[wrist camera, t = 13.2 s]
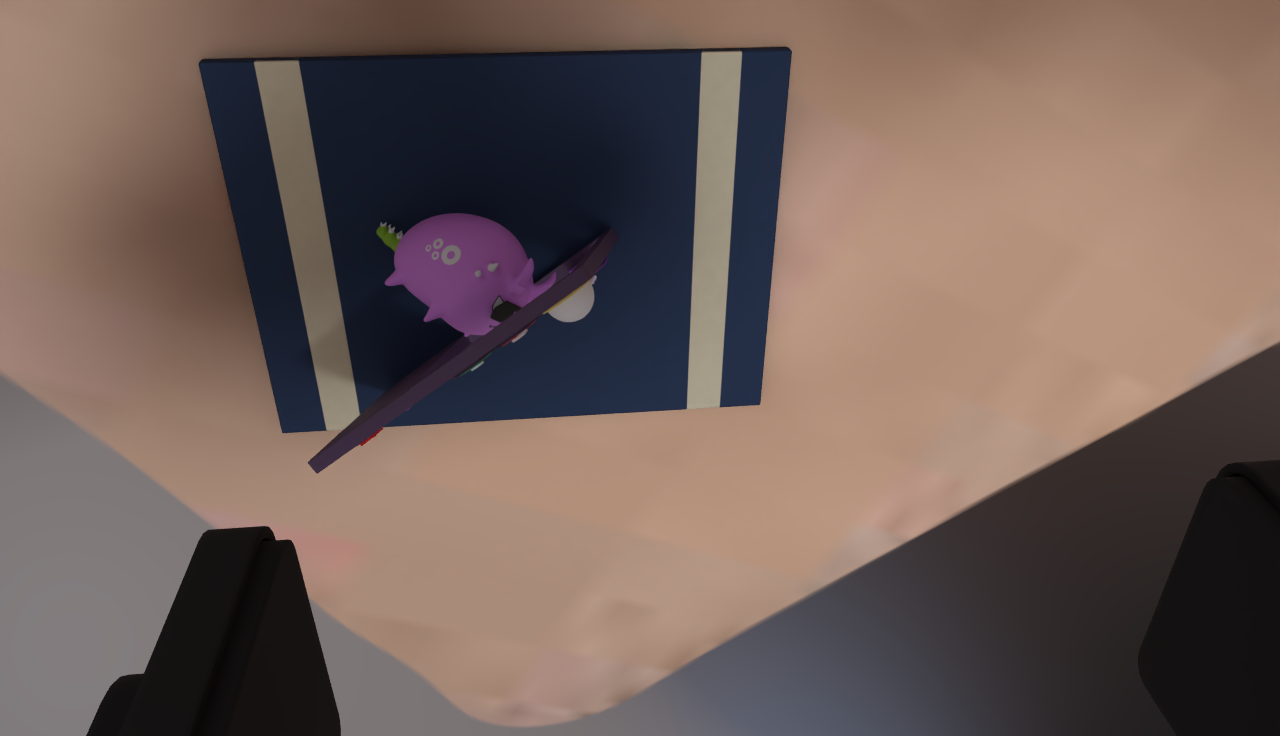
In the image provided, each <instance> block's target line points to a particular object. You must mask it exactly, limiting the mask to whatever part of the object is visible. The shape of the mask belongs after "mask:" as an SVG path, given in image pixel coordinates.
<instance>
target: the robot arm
mask: <svg viewBox="0 0 1280 736" xmlns="http://www.w3.org/2000/svg"><path fill="white" fill-rule="evenodd" d="M1138 667H1139V673H1140V676H1141V679H1142V682H1143V683H1144V685H1145V687H1146V689H1147V691H1148V692H1149V694H1150V695H1151V697H1152V698H1153V700H1154V701H1155V703H1156V704H1157V706H1158V708H1159V709H1160V711H1161V712H1162V714H1163V715H1164V717H1165V718H1166V719H1167V721H1168V723H1169V724H1170V726H1171V728H1172V729H1173V731H1174V732H1175V734H1176V735H1177V736H1280V460H1269V461H1255V462H1239V463H1232V464H1228V465H1227V466H1225V467H1224V468H1222V469H1221V470H1220V472H1219V474H1218V475H1217V477H1216V478H1214V479H1211V480H1210V481H1209V482H1207V484H1206V486H1205V487H1204V489H1203V492H1202V494H1201V497H1200V499H1199V502H1198V504H1197V507H1196V509H1195V512H1194V514H1193V517H1192V519H1191V522H1190V524H1189V527H1188V530H1187V532H1186V534H1185V537H1184V539H1183V542H1182V544H1181V547H1180V549H1179V552H1178V554H1177V557H1176V560H1175V562H1174V565H1173V567H1172V570H1171V572H1170V575H1169V577H1168V580H1167V582H1166V585H1165V587H1164V590H1163V592H1162V595H1161V598H1160V600H1159V602H1158V605H1157V607H1156V610H1155V612H1154V615H1153V617H1152V620H1151V623H1150V625H1149V627H1148V630H1147V632H1146V635H1145V638H1144V640H1143V643H1142V645H1141V648H1140V651H1139V655H1138ZM86 736H341V728H340V718H339V713H338V710H337V706H336V702H335V698H334V694H333V690H332V687H331V683H330V679H329V675H328V672H327V667H326V664H325V660H324V656H323V652H322V648H321V645H320V641H319V637H318V633H317V630H316V626H315V622H314V618H313V615H312V611H311V607H310V603H309V599H308V595H307V591H306V587H305V584H304V580H303V576H302V572H301V568H300V564H299V561H298V557H297V553H296V549H295V547H294V544H293V542H292V541H291V540H276V539H275V536H274V533H273V531H272V530H271V529H270V528H269V527H267V526H260V527H245V528H229V529H214V530H207V531H206V532H205V533H203V535H202V537H201V538H200V540H199V542H198V544H197V547H196V549H195V551H194V554H193V556H192V559H191V561H190V564H189V566H188V569H187V571H186V573H185V576H184V578H183V580H182V583H181V585H180V588H179V590H178V593H177V595H176V598H175V600H174V602H173V605H172V607H171V609H170V612H169V614H168V617H167V619H166V622H165V624H164V626H163V629H162V632H161V634H160V636H159V638H158V641H157V643H156V646H155V648H154V651H153V653H152V655H151V658H150V660H149V663H148V665H147V668H146V670H145V672H144V674H134V675H126V676H122V677H120V678H119V679H117V680H116V681H115V682H114V683H113V684H112V685H111V686H110V688H109V690H108V691H107V693H106V695H105V697H104V698H103V700H102V702H101V704H100V706H99V709H98V711H97V713H96V715H95V717H94V720H93V722H92V724H91V726H90V729H89V731H88V733H87V735H86Z"/></svg>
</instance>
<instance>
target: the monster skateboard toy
mask: <svg viewBox="0 0 1280 736" xmlns="http://www.w3.org/2000/svg"><path fill="white" fill-rule="evenodd" d="M386 224H387V222H386V223H385V224H382V222H381V224H380V227H379V228H378V229H377V231H376V233H377V235H378V236H379V237H380V238H381V239H382V240H383V242H384V243H385V244H386V245H387V246H388V247H390V248H392V250H393V251H394V252H395V255H394V265H395V271H394V272H393V273H392V275H391V276H390V277H389V278H388V279H387V280H386V281H385V285H387V286H395V285H400V284H403V285H404V286H405V287H406V288H407V289H408V290H409V291H410V292H411V293H412V294H413V295H414V296H416V297H417V298H418V299H419V300H421V301H422V302H423V303H424V304H426V305H427V306H428V307H430V308H429V310H428V312H427V314H426V316H425V318H424V321H425V322H428V321H431V320H434V319H437V318H442V319H443V320H444V321H446V322H447V323H448V324H449V325H451V326H452V327H454V328H455V329H457V330H458V331H461V332H463V333H464V334H463V335H462V336H461V337H459V338H458V339H456V340H455V341H454V342H452V343H451V344H450V345H448V346H447V347H445V348H444V349H443V350H441V351H440V352H438V353H437V354H436V355H434V356H433V357H432V358H430V359H429V360H427V361H426V362H425V363H423V364H422V365H420V366H419V367H418V368H416V369H415V370H414V371H412V372H411V373H409V374H408V375H407V376H405V377H404V378H402V379H401V380H400V381H398V382H397V383H396V384H394V385H393V386H392V387H390V388H389V389H388V390H387V391H386V392H385V393H383V394H382V395H381V396H380V397H379V398H378V399H377V400H376V401H375V402H374V403H372V404H371V405H370V406H369V407H368V408H367V409H366V410H365V411H364V412H363V413H361V414H360V415H359V416H358V417H357V418H356V419H355V420H354V421H353V422H352V423H350V424H349V425H348V426H347V427H346V428H345V429H344V430H343V431H342V432H341V433H339V434H338V435H337V436H336V437H335V438H334V439H333V440H332V441H331V442H330V443H328V444H327V445H326V446H325V447H324V448H323V449H322V450H321V451H320V452H319V453H317V454H316V455H315V456H314V457H313V458H312V459H311V460H310V461H309V462H308V464H309V465H310V466H311V467H312V469H313V470H314V471H315V472H316V473H319V472H320V471H322V470H323V469H325V468H326V467H327V466H329V465H330V464H332V463H333V462H334V461H336V460H337V459H339V458H340V457H341V456H343V455H344V454H346V453H347V452H348V451H350V450H351V449H353V448H354V447H356V446H358V445H359V444H360V445H361V446H362V445H364V444H365V443H366V442H368V441H369V440H370V439H371V438H373V437H375V436H376V434H377V433H379V432H380V431H381V430H382V429H383V428H382V427H384V426H385V425H386V424H388V423H389V422H391V421H392V420H393V419H395V418H396V417H398V416H399V415H400V414H402V413H403V412H405V411H407V410H409V409H410V408H411V407H412V406H413V405H415V404H416V403H417V402H419V401H420V400H422V399H423V398H424V397H426V396H427V395H429V394H430V393H431V392H433V391H434V390H436V389H437V388H438V387H440V386H441V385H443V384H444V383H445V382H447V381H448V380H450V379H456V378H458V377H459V376H461V375H463V374H465V373H467V372H468V371H470V370H471V371H473V370H475V369H476V368H478V367H479V366H480V365H482V364H483V363H484V361H483V360H484V359H485V358H487V357H488V356H489V355H490V354H491V352H492V351H493V350H494V349H496V348H499V347H501V346H505V345H506V344H507V343H508V342H510V341H511V340H512V342H513V343H514V342H515V341H517V340H518V339H520V338H521V337H522V336H524V335H525V334H526V332H527V331H528V330H527V328H528V327H529V326H530V325H532V324H533V323H534V322H535V321H536V320H537V319H538V318H539V317H540V316H541V315H542V314H545V313H547V312H548V313H549V314H550V315H551V316H552V317H554V318H555V319H557V320H559V321H563V322H575V321H578V320H580V319H582V318H583V317H585V316H586V315H587V314H588V313H589V312H590V310H591V308H592V306H593V303H594V290H593V287H592V284H594V281H595V280H596V278H597V277H596V275H594V274H595V273H596V272H598V271H599V270H600V269H601V268H602V267H603V266H604V265H605V264H606V262H607V255H608V254H609V252H610V251H611V249H612V248H613V246H614V245H615V243H616V242H617V240H618V239H619V236H618V235H617V234H616V232H615V231H614V229H613V228H610V229H609V230H607V231H606V232H605V233H603V234H602V235H600V236H599V237H598V238H596V239H595V240H594V241H592V242H591V243H589V244H588V245H587V246H585V247H584V248H582V249H581V250H580V251H578V252H577V253H576V254H574V255H573V256H571V257H570V258H569V259H567V260H566V261H564V262H563V263H562V264H560V265H559V266H558V267H556V268H555V269H553V270H552V271H551V272H549V273H548V274H546V275H545V276H544V277H542V278H541V279H540V280H538V281H537V282H535V283H533V277H532V273H533V270H534V263H533V259H532V258H530V259H529V261H528V258H527V255H526V253H525V251H524V249H523V247H522V246H521V244H520V243H519V241H518V240H517V239H516V237H515V236H514V235H513V234H512V233H511V232H510V231H508V230H507V229H506V228H505V227H503V226H502V225H500V224H498V223H496V222H494V221H492V220H490V219H487V218H484V217H480V216H476V215H472V214H464V213H449V214H442V215H437V216H433V217H430V218H428V219H425V220H423V221H421V222H419V223H418V224H416V225H415V226H413V227H412V228H411V229H410V230H408V231H407V232H406V233H405V235H404V236H403V233H402V231H400V232H399V233H395V232H394V229H395V227H393V228H392V229H391V224H390V225H389V226H387V227H386ZM569 273H570V274H569ZM565 276H566V277H565ZM562 278H563V279H562ZM561 279H562V280H561ZM558 281H559V282H558ZM555 283H556V284H555ZM554 284H555V285H554ZM551 286H552V287H551ZM483 335H484V336H483ZM480 337H481V338H480ZM477 339H478V340H477ZM476 340H477V341H476ZM473 342H474V343H473Z"/></svg>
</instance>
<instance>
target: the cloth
mask: <svg viewBox="0 0 1280 736" xmlns="http://www.w3.org/2000/svg"><path fill="white" fill-rule="evenodd" d="M791 54H792V51H791V50H790V49H789V48H788V47H775V48H723V49H678V50H629V51H581V52H532V53H484V54H435V55H387V56H339V57H286V58H242V59H203V60H201V61H200V62H199V68H200V72H201V77H202V81H203V86H204V90H205V94H206V99H207V103H208V108H209V112H210V116H211V121H212V125H213V130H214V134H215V138H216V143H217V147H218V152H219V156H220V160H221V165H222V169H223V174H224V178H225V182H226V187H227V191H228V196H229V200H230V204H231V209H232V213H233V218H234V222H235V226H236V231H237V235H238V240H239V244H240V248H241V253H242V257H243V262H244V266H245V271H246V275H247V279H248V284H249V288H250V293H251V297H252V301H253V306H254V310H255V315H256V319H257V323H258V328H259V332H260V337H261V341H262V345H263V350H264V354H265V359H266V363H267V367H268V372H269V376H270V381H271V385H272V389H273V394H274V398H275V403H276V407H277V411H278V416H279V420H280V425H281V429H282V432H283V433H293V432H310V431H330V430H344V429H345V428H346V427H347V426H348V425H349V424H350V423H352V422H353V421H354V420H355V419H356V418H357V417H358V416H359V415H360V414H361V413H363V412H364V411H365V410H366V409H367V408H368V407H369V406H370V405H371V404H372V403H374V402H375V401H376V400H377V399H378V398H379V397H380V396H381V395H382V394H383V393H385V392H386V391H387V390H388V389H389V388H390V387H392V386H393V385H394V384H396V383H397V382H398V381H400V380H401V379H402V378H404V377H405V376H407V375H408V374H409V373H411V372H412V371H414V370H415V369H416V368H418V367H419V366H420V365H422V364H423V363H425V362H426V361H427V360H429V359H430V358H432V357H433V356H434V355H436V354H437V353H438V352H440V351H441V350H443V349H444V348H445V347H447V346H448V345H450V344H451V343H452V342H454V341H455V340H456V339H458V338H459V337H461V336H462V335H463V334H464V333H463V332H461V331H458V330H457V329H455V328H454V327H452V326H451V325H449V324H448V323H447V322H446V321H444V320H443V319H442V318H437V319H434V320H431V321H428V322H425V321H424V318H425V316H426V314H427V312H428V310H429V308H430V307H428V306H427V305H426V304H424V303H423V302H422V301H421V300H419V299H418V298H417V297H416V296H414V295H413V294H412V293H411V292H410V291H409V290H408V289H407V288H406V287H405V286H404V285H403V284H400V285H395V286H387V285H385V281H386V280H387V279H388V278H389V277H390V276H391V275H392V273H393V272H394V271H395V265H394V255H395V252H394V251H393V250H392V248H390V247H388V246H387V245H386V244H385V243H384V242H383V240H382V239H381V238H380V237H379V236H378V235H377V233H376V231H377V229H378V228H379V227H380V224H381V222H382V224H385V223H386V222H387V224H386V227H387V226H389V225H390V224H391V229H392V228H393V227H395V229H394V232H395V233H399V232H400V231H402V233H403V236H404V235H405V233H406V232H407V231H408V230H410V229H411V228H412V227H413V226H415V225H416V224H418V223H419V222H421V221H423V220H425V219H428V218H430V217H433V216H437V215H442V214H449V213H464V214H472V215H476V216H480V217H484V218H487V219H490V220H492V221H494V222H496V223H498V224H500V225H502V226H503V227H505V228H506V229H507V230H508V231H510V232H511V233H512V234H513V235H514V236H515V237H516V239H517V240H518V241H519V243H520V244H521V246H522V247H523V249H524V251H525V253H526V255H527V258H528V261H529V259H530V258H532V259H533V263H534V270H533V273H532V277H533V283H535V282H537V281H538V280H540V279H541V278H542V277H544V276H545V275H546V274H548V273H549V272H551V271H552V270H553V269H555V268H556V267H558V266H559V265H560V264H562V263H563V262H564V261H566V260H567V259H569V258H570V257H571V256H573V255H574V254H576V253H577V252H578V251H580V250H581V249H582V248H584V247H585V246H587V245H588V244H589V243H591V242H592V241H594V240H595V239H596V238H598V237H599V236H600V235H602V234H603V233H605V232H606V231H607V230H609V229H610V228H613V229H614V231H615V232H616V234H617V235H618V236H619V239H618V240H617V242H616V243H615V245H614V246H613V248H612V249H611V251H610V252H609V254H608V255H607V262H606V264H605V265H604V266H603V267H602V268H601V269H600V270H599V271H598V272H596V273H595V274H594V275H596V277H597V278H596V280H595V281H594V284H592V287H593V290H594V303H593V306H592V308H591V310H590V312H589V313H588V314H587V315H586V316H585V317H583V318H582V319H580V320H578V321H575V322H563V321H559V320H557V319H555V318H554V317H552V316H551V315H550V314H549V313H548V312H547V313H545V314H542V315H541V316H540V317H539V318H538V319H537V320H536V321H535V322H534V323H533V324H532V325H530V326H529V327H528V328H527V330H528V331H527V332H526V334H525V335H524V336H522V337H521V338H520V339H518V340H517V341H515V342H514V343H513V342H512V340H511V341H510V342H508V343H507V344H506V345H505V346H501V347H499V348H496V349H494V350H493V351H492V352H491V354H490V355H489V356H488V357H487V358H485V359H484V360H483V361H484V363H483V364H482V365H480V366H479V367H478V368H476V369H475V370H473V371H471V370H470V371H468V372H467V373H465V374H463V375H461V376H459V377H458V378H456V379H450V380H448V381H447V382H445V383H444V384H443V385H441V386H440V387H438V388H437V389H436V390H434V391H433V392H431V393H430V394H429V395H427V396H426V397H424V398H423V399H422V400H420V401H419V402H417V403H416V404H415V405H413V406H412V407H411V408H410V409H409V410H407V411H405V412H403V413H402V414H400V415H399V416H398V417H396V418H395V419H393V420H392V421H391V422H389V423H388V424H386V425H385V426H384V427H394V426H411V425H428V424H445V423H462V422H478V421H495V420H512V419H529V418H546V417H563V416H580V415H596V414H613V413H630V412H647V411H664V410H681V409H700V408H717V407H731V406H748V405H760V401H761V389H762V378H763V367H764V356H765V345H766V333H767V322H768V311H769V300H770V289H771V278H772V266H773V255H774V244H775V233H776V222H777V211H778V199H779V188H780V177H781V166H782V155H783V143H784V132H785V121H786V110H787V99H788V88H789V76H790V65H791ZM569 274H570V273H569ZM565 277H566V276H565ZM562 279H563V278H562ZM562 279H561V280H562ZM558 282H559V281H558ZM555 284H556V283H555ZM555 284H554V285H555ZM551 287H552V286H551ZM483 336H484V335H483ZM480 338H481V337H480ZM477 340H478V339H477ZM477 340H476V341H477ZM473 343H474V342H473Z"/></svg>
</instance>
